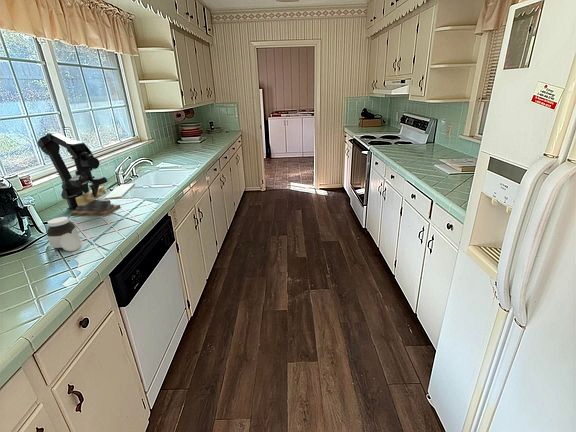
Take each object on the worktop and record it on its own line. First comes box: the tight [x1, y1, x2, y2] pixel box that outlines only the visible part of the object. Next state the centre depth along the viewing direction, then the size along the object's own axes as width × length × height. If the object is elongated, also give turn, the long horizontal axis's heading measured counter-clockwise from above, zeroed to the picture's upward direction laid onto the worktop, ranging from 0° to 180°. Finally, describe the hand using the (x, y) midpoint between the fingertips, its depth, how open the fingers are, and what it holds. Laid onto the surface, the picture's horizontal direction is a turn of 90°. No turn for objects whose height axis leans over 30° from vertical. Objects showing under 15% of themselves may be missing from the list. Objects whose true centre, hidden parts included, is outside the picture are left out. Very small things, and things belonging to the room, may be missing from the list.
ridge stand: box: [69, 199, 121, 216], centre depth 167 cm, size 20×12×6 cm, turn 82°
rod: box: [75, 185, 107, 206], centre depth 165 cm, size 20×4×4 cm, turn 1°
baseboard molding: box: [102, 181, 136, 200], centre depth 202 cm, size 31×3×12 cm
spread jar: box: [46, 216, 82, 252], centre depth 125 cm, size 12×11×12 cm
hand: (91, 197), depth 165 cm, fingers closed on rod, 4 cm apart
